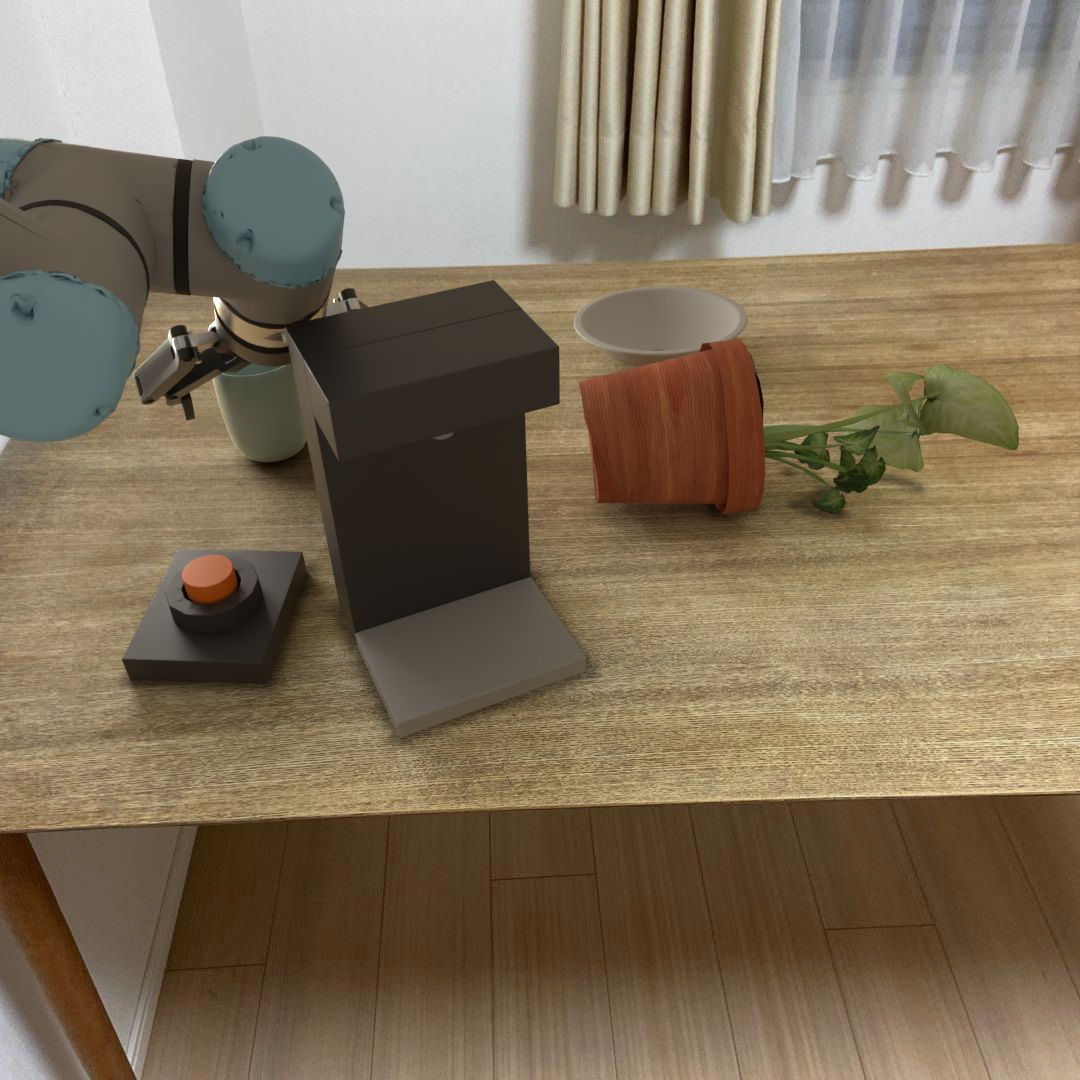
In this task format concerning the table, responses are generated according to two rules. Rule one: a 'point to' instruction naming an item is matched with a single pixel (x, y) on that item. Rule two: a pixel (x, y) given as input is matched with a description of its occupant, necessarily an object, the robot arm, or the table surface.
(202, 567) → the button
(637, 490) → the potted plant
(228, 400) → the cup
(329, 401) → the coffee maker
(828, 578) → the table surface
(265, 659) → the control pad
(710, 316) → the dish
